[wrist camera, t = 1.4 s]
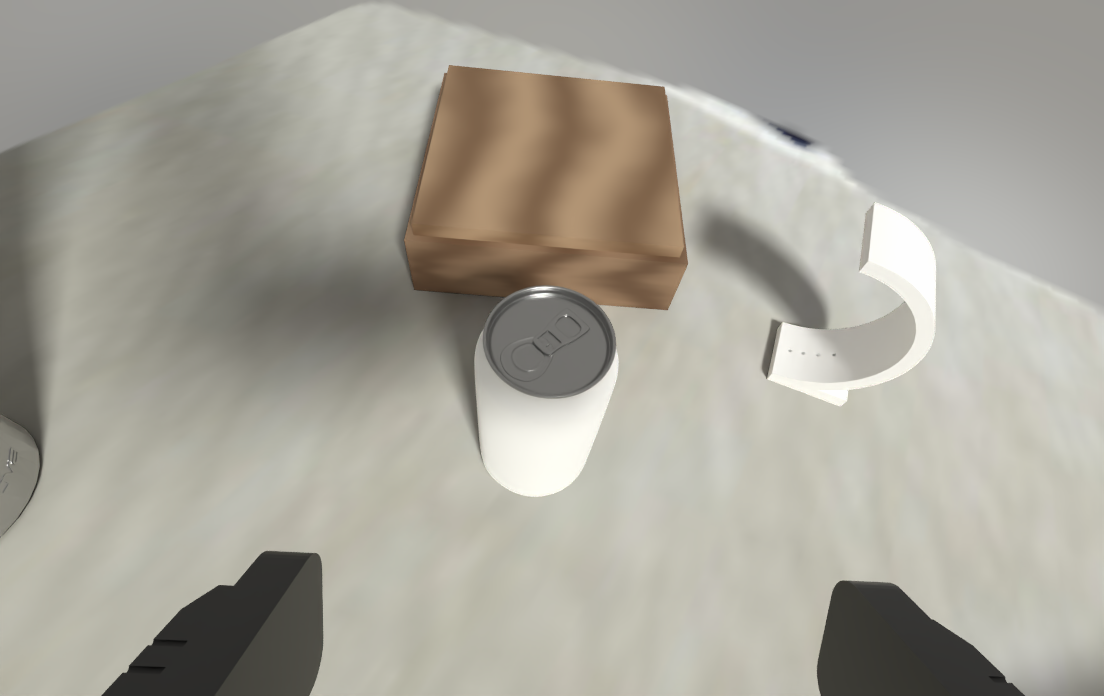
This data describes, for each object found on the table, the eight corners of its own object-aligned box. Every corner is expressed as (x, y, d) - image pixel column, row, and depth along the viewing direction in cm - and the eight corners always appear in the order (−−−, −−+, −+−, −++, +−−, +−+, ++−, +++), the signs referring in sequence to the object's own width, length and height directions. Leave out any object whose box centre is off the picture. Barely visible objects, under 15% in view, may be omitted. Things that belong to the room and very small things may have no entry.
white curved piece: (777, 328, 39) (874, 201, 29) (861, 358, 39) (990, 239, 29) (766, 379, 37) (867, 260, 27) (855, 413, 36) (994, 303, 26)
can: (457, 442, 33) (439, 331, 23) (536, 379, 36) (552, 254, 25) (531, 523, 31) (547, 439, 21) (609, 449, 33) (657, 343, 23)
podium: (414, 289, 39) (401, 228, 33) (449, 127, 48) (443, 60, 43) (667, 309, 39) (692, 253, 34) (652, 146, 49) (670, 83, 44)
